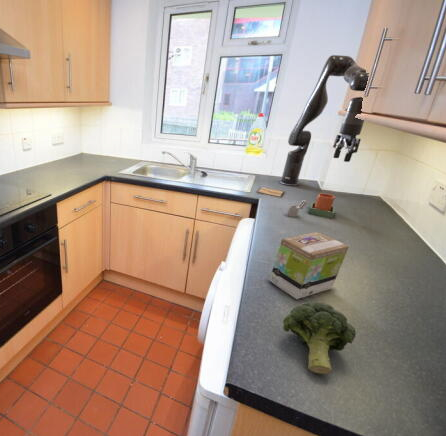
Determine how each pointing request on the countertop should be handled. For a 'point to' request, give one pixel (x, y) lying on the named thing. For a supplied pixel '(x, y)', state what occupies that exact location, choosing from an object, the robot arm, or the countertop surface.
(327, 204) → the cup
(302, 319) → the vegetable
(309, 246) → the tea box
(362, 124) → the robot arm
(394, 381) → the countertop surface
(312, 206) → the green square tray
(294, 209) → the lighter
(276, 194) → the coaster
